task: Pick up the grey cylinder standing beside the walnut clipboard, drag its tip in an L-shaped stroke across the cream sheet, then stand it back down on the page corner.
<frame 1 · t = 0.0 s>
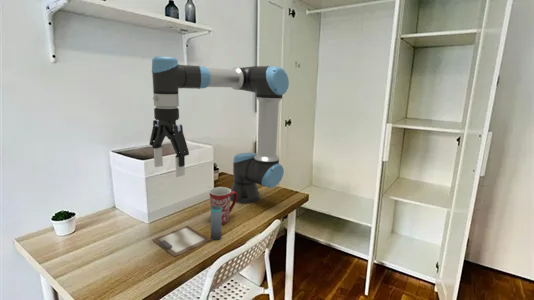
hand: (169, 170, 98), 28 cm above the table, fingers open, 13 cm apart
mug: (223, 219, 126), on the table
grey cylinder: (216, 237, 111), on the table
clipboard: (181, 240, 108), on the table
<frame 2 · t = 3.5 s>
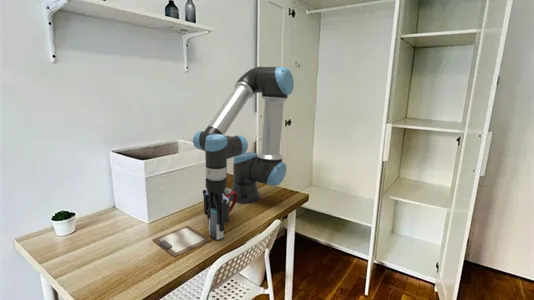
hand: (216, 235, 111), 1 cm above the table, fingers closed on grey cylinder, 4 cm apart
grey cylinder: (216, 237, 111), on the table, touching gripper
everything else where it was.
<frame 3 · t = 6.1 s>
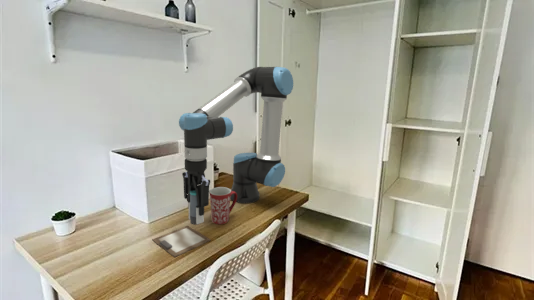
hand: (196, 220, 106), 8 cm above the table, fingers closed on grey cylinder, 4 cm apart
grey cylinder: (196, 222, 106), point 8 cm above the table, touching gripper
everything else where it was.
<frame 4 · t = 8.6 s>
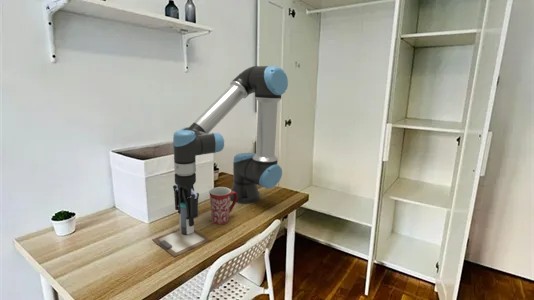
hand: (186, 230, 113), 1 cm above the table, fingers closed on grey cylinder, 4 cm apart
grey cylinder: (186, 232, 113), point 1 cm above the table, touching gripper
everything else where it was.
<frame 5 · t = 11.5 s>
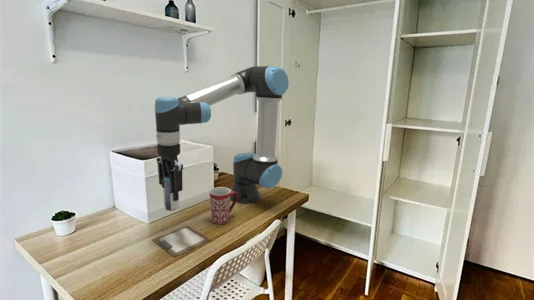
hand: (171, 206, 106), 13 cm above the table, fingers closed on grey cylinder, 4 cm apart
grey cylinder: (171, 208, 106), point 13 cm above the table, touching gripper
everything else where it was.
when the fingers open (2 cm above the table, at t = 14.0 s): grey cylinder stays where it is, resting on clipboard.
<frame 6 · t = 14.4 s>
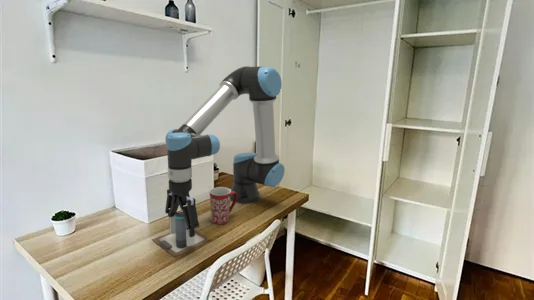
hand: (182, 238, 104), 3 cm above the table, fingers open, 10 cm apart
grey cylinder: (181, 245, 104), point 1 cm above the table, touching clipboard
everything else where it was.
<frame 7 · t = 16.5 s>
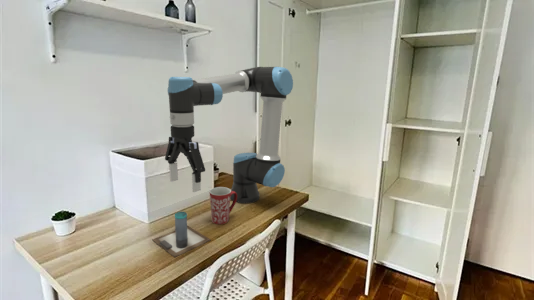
hand: (184, 185, 101), 22 cm above the table, fingers open, 13 cm apart
nothing on the table moved.
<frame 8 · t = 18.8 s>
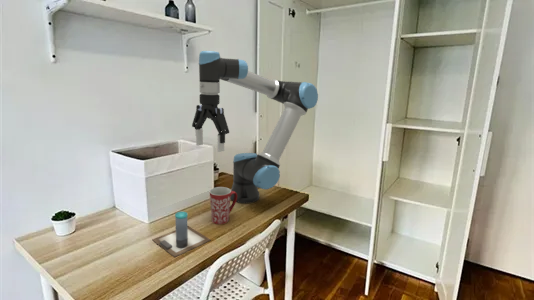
hand: (209, 148, 116), 32 cm above the table, fingers open, 13 cm apart
nothing on the table moved.
at the end: grey cylinder inside the target area (0.1 cm from its centre), point 0.5 cm above the table; grey cylinder tilted 1°; the gripper is holding nothing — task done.
